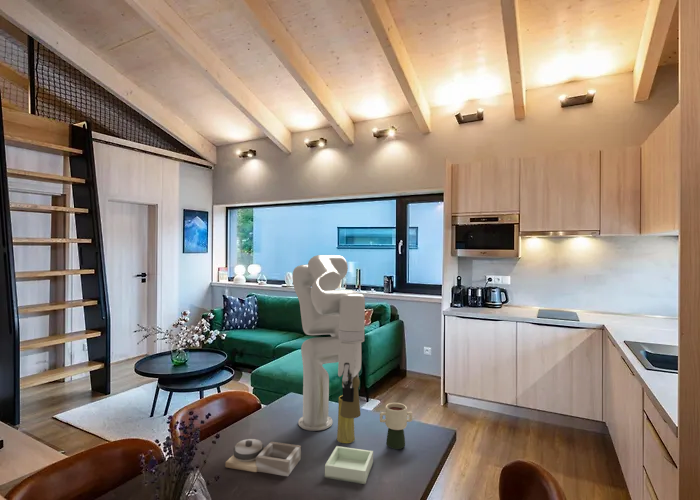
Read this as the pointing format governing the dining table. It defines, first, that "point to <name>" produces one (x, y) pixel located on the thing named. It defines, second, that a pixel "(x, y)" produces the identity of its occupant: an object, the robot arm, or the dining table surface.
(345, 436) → the vase
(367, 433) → the dining table surface
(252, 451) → the desk organizer
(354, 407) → the cork
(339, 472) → the tray
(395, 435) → the cream green cup
